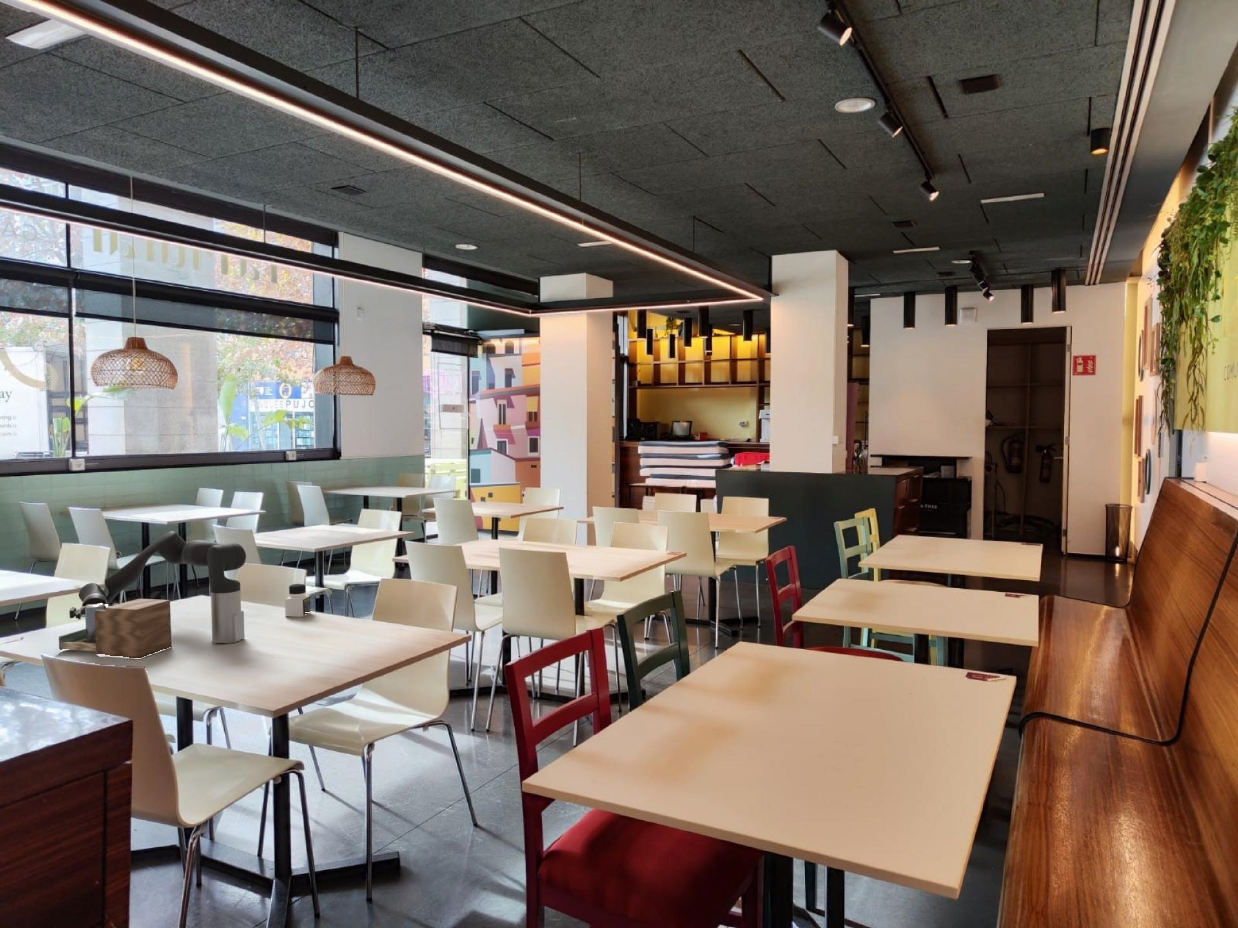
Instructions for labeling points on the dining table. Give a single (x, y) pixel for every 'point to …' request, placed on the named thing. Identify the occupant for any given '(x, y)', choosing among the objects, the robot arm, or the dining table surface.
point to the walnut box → (133, 628)
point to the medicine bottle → (297, 601)
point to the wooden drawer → (76, 641)
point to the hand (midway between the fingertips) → (94, 614)
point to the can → (91, 621)
